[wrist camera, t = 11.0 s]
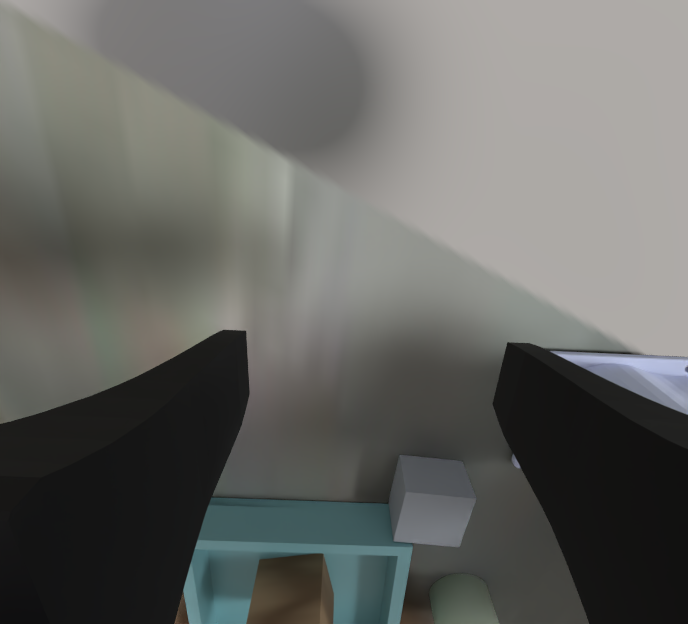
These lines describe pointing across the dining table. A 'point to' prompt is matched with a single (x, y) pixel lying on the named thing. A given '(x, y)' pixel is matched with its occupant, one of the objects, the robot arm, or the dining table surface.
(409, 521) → the slate block
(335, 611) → the tray
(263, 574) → the walnut block
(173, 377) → the robot arm
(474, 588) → the sage cylinder
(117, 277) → the dining table surface
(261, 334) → the dining table surface
